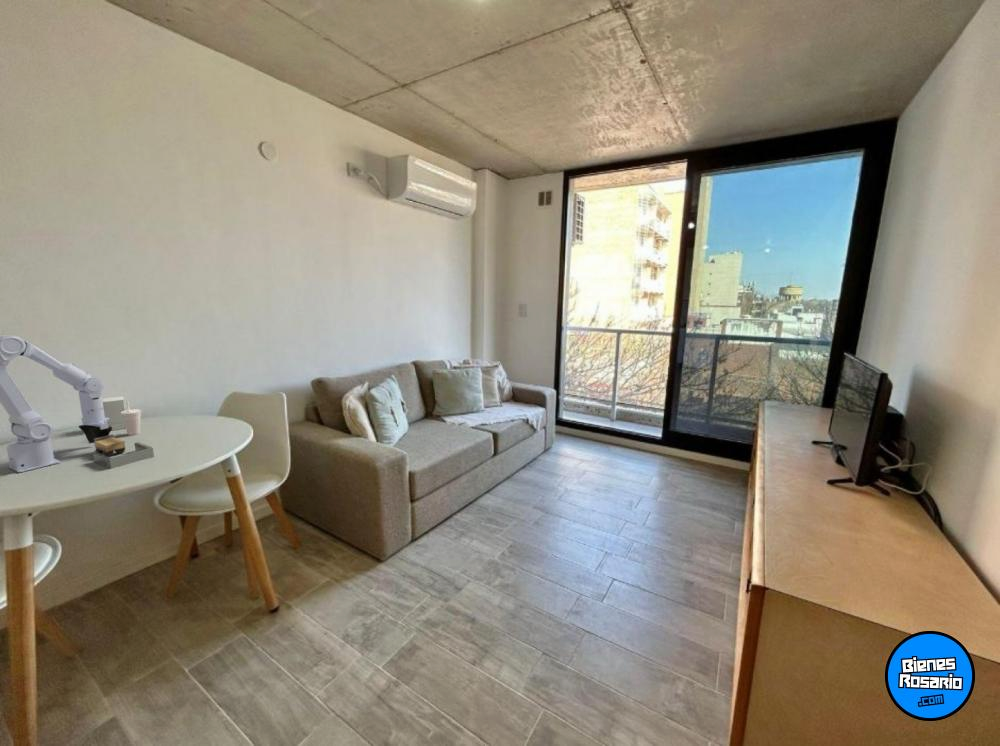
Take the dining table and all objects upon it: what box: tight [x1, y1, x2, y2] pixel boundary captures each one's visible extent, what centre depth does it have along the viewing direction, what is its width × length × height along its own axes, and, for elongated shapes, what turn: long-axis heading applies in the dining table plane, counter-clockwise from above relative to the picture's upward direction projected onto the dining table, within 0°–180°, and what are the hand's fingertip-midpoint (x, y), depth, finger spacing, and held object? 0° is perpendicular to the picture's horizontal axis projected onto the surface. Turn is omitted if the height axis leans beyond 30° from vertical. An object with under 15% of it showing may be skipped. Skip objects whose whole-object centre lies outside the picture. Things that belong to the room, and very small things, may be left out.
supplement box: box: [102, 396, 126, 431], centre depth 171 cm, size 7×7×13 cm
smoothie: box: [121, 400, 142, 436], centre depth 165 cm, size 6×6×14 cm
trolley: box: [94, 434, 126, 457], centre depth 146 cm, size 6×8×6 cm
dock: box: [92, 441, 155, 469], centre depth 142 cm, size 12×11×3 cm
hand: (98, 444), depth 150 cm, fingers open, 6 cm apart
